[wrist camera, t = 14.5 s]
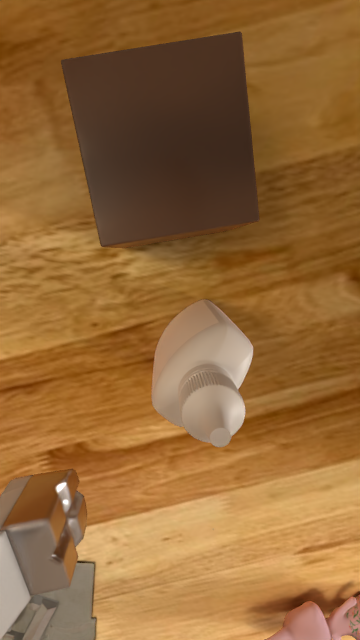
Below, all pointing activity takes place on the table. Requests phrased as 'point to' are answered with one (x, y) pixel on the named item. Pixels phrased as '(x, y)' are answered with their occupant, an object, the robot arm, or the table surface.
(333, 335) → the table surface
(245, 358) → the eye dropper bottle
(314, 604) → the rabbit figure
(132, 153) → the walnut block
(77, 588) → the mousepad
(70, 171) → the table surface
